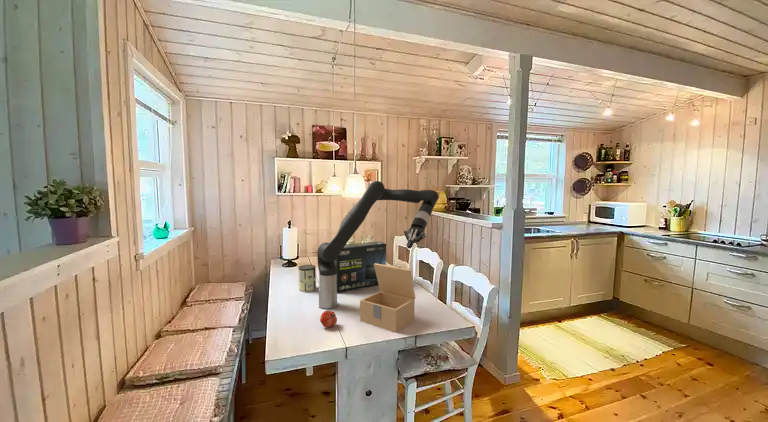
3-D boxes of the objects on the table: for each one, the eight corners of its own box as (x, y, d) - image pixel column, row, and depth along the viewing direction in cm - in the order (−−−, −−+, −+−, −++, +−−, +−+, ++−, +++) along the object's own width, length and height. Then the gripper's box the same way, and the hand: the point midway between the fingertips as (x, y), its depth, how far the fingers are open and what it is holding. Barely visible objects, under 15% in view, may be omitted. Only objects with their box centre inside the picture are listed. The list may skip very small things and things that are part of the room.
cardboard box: (380, 310, 166) (380, 291, 165) (414, 320, 154) (414, 299, 154) (359, 321, 153) (359, 300, 152) (395, 332, 141) (395, 310, 140)
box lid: (380, 291, 165) (381, 289, 166) (414, 299, 154) (415, 298, 154) (373, 264, 159) (375, 262, 160) (409, 270, 148) (410, 269, 149)
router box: (336, 294, 190) (336, 248, 188) (328, 289, 200) (328, 245, 197) (387, 283, 210) (387, 242, 208) (378, 279, 219) (378, 240, 217)
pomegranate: (317, 331, 147) (325, 324, 140) (315, 315, 151) (323, 308, 144) (333, 329, 151) (341, 322, 144) (330, 314, 154) (338, 306, 148)
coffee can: (307, 285, 205) (307, 263, 204) (319, 288, 200) (319, 266, 199) (295, 290, 197) (294, 267, 196) (307, 293, 191) (306, 269, 190)
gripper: (407, 216, 177) (394, 241, 168) (429, 217, 169) (417, 244, 160) (412, 224, 181) (400, 250, 172) (433, 226, 174) (422, 253, 165)
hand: (408, 247), depth 166 cm, fingers closed
